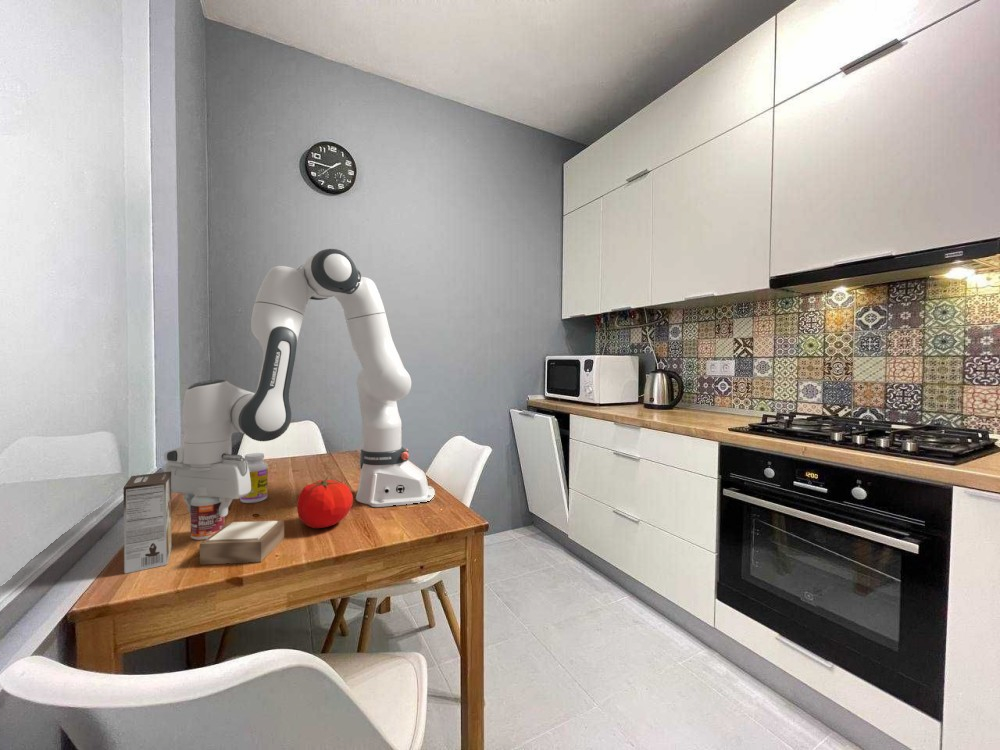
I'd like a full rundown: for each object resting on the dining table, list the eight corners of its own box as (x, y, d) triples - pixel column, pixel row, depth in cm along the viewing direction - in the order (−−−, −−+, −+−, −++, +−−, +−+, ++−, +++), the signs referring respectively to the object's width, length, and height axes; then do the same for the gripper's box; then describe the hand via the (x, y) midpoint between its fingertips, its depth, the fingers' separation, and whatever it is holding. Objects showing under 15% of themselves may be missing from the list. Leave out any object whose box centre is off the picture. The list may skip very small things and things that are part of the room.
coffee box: (131, 555, 81) (130, 475, 81) (172, 547, 85) (172, 470, 85) (122, 574, 74) (122, 486, 73) (168, 565, 77) (168, 481, 77)
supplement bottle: (258, 504, 112) (258, 457, 111) (234, 503, 112) (234, 457, 111) (272, 496, 118) (272, 452, 118) (250, 495, 118) (250, 451, 118)
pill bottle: (198, 543, 87) (198, 490, 87) (185, 536, 90) (185, 485, 90) (229, 533, 92) (229, 483, 92) (216, 527, 96) (216, 479, 95)
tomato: (302, 516, 103) (302, 475, 103) (354, 512, 106) (354, 472, 106) (290, 538, 90) (291, 490, 90) (350, 532, 94) (350, 487, 93)
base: (284, 538, 90) (284, 519, 90) (261, 562, 79) (261, 540, 79) (230, 540, 89) (230, 520, 89) (199, 564, 78) (199, 542, 78)
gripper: (258, 452, 92) (258, 513, 92) (185, 447, 96) (185, 505, 97) (234, 458, 86) (234, 524, 86) (157, 452, 90) (157, 514, 90)
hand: (207, 514), depth 91 cm, fingers open, 6 cm apart
